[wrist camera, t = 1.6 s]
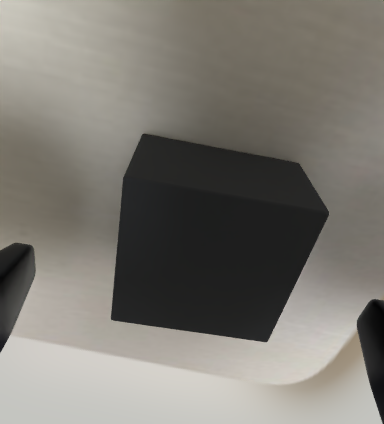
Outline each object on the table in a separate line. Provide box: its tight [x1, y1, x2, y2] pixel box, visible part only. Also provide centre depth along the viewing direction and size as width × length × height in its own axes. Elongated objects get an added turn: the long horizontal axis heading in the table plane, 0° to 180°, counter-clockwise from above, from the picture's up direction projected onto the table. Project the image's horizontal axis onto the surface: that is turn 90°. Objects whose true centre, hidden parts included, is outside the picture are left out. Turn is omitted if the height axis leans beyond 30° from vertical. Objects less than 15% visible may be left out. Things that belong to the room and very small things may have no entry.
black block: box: [111, 134, 329, 342], centre depth 10 cm, size 5×5×3 cm
